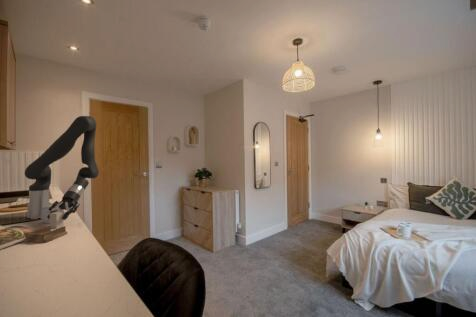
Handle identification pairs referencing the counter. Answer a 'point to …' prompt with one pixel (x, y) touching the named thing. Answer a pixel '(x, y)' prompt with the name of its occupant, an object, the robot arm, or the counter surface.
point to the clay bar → (56, 220)
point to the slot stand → (45, 234)
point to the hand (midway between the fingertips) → (56, 218)
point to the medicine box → (46, 214)
